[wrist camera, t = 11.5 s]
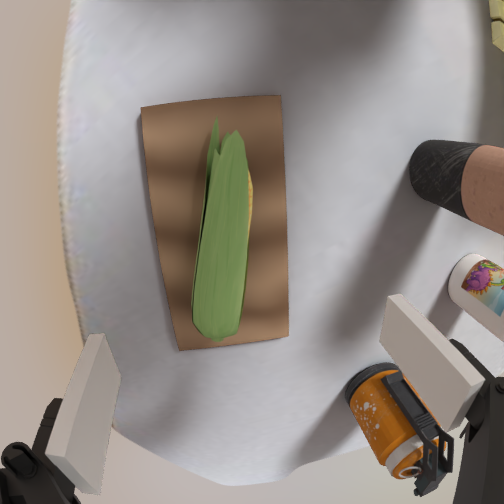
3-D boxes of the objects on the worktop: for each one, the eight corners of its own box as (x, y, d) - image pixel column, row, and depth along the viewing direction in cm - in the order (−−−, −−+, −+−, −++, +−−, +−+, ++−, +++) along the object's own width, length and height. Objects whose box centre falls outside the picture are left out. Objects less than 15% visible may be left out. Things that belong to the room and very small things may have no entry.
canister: (341, 410, 43) (393, 515, 24) (347, 358, 39) (421, 478, 20) (391, 393, 44) (452, 485, 25) (404, 341, 40) (487, 440, 21)
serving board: (143, 108, 25) (140, 107, 24) (277, 96, 26) (280, 95, 25) (179, 344, 34) (179, 350, 33) (286, 330, 35) (288, 336, 34)
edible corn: (183, 347, 27) (232, 358, 27) (202, 110, 21) (265, 115, 21) (198, 320, 32) (241, 329, 32) (218, 117, 26) (270, 123, 26)
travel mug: (416, 213, 33) (557, 288, 14) (398, 150, 30) (563, 192, 11) (459, 187, 32) (592, 241, 14) (444, 128, 30) (594, 155, 11)
